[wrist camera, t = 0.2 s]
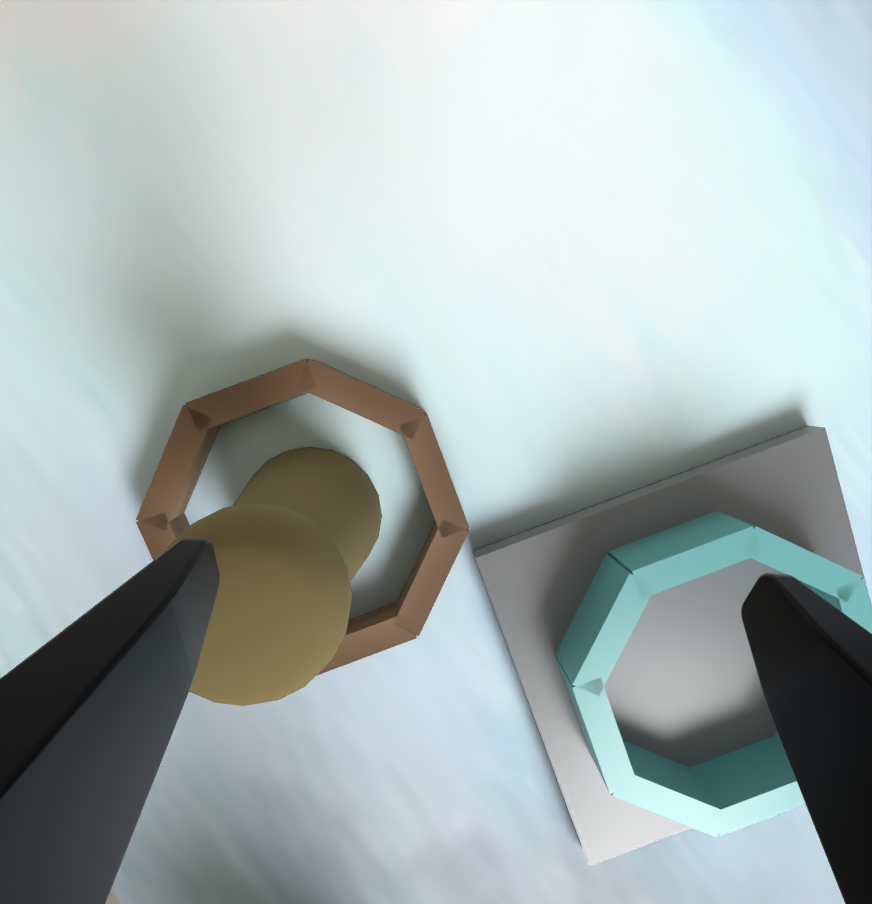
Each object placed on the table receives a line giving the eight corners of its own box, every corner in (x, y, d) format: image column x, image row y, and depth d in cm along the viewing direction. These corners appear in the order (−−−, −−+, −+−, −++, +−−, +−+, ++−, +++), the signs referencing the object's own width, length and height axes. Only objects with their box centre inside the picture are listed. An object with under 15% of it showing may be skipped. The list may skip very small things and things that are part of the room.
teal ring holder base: (889, 732, 27) (961, 784, 23) (582, 848, 27) (608, 918, 23) (808, 425, 25) (874, 433, 21) (472, 551, 24) (483, 579, 21)
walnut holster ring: (492, 593, 25) (498, 607, 23) (234, 690, 25) (223, 710, 23) (395, 329, 23) (394, 325, 21) (116, 432, 23) (96, 436, 21)
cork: (211, 500, 24) (45, 605, 13) (326, 419, 23) (256, 453, 12) (298, 609, 24) (211, 794, 13) (409, 530, 24) (412, 655, 13)
